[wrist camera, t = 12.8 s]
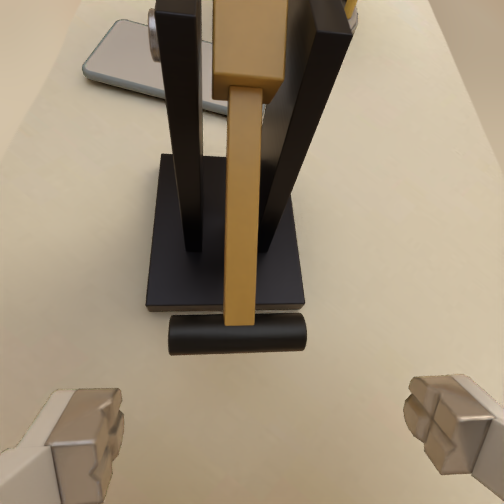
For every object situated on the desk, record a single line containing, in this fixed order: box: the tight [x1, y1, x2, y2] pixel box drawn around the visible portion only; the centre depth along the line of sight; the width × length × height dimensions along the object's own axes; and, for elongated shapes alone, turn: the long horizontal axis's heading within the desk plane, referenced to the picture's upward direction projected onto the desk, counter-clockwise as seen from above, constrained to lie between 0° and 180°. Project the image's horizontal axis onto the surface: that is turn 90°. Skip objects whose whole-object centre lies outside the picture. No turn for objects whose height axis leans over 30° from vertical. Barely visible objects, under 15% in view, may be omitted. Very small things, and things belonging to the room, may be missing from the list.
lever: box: [168, 0, 307, 356], centre depth 11 cm, size 12×5×2 cm
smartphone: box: [82, 19, 266, 116], centre depth 27 cm, size 8×1×15 cm
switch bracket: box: [145, 0, 353, 312], centre depth 15 cm, size 11×9×14 cm
